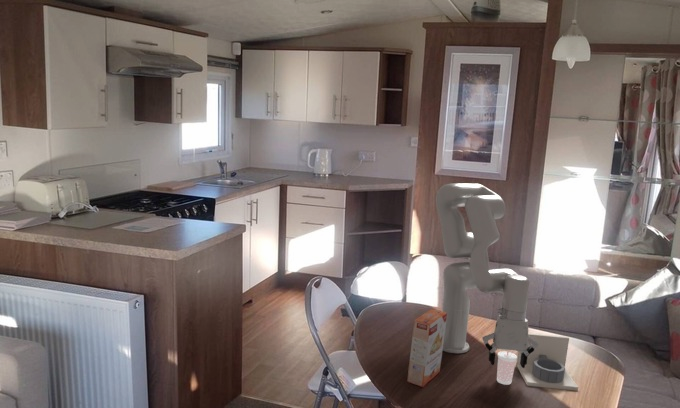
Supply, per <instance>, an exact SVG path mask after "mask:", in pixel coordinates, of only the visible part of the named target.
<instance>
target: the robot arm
mask: <svg viewBox="0 0 680 408" xmlns="http://www.w3.org/2000/svg"><path fill="white" fill-rule="evenodd" d="M435 207H436V211H437V215H438V217H439V220H440V226H441V228H440V229H441V237H442V241H443V242H442V243H443V251H444V254H445V256H446V257H447V258H449V259H451V260H452V259H453V260H455V259H457V260H458V259H462V260H463V259H468V261H460V262H459V261H458V262H453V263H450V264H448V265H446V266H445V268H444V270H443V271H442V272H443V273H442V279H443V299H442V309H441V311H442V312H445V313H447V319H446V327H445V335H444V342H443V350H442V352H446V353H450V354H464V353H467V352H468V351H470V345H469V343H468V342H467V341H466V340H467V335H468V334H467V332H468V323H469V317H470V316H469V315H470V308H471V307H470V306H471V301H470V297H469V294H468V292H467V290H471V289H477V290H479V291H480V292H481V293H483V294H491V293H502V301H501V302H502V303H501V307H500V308H496V313H497V314H498V316H497V320H496V323H495V327H494V331H493V332H492V333H489V334H486V335H484V336H482V340H483V344H484V346H485V347H486V349H487V350H488V351H489V353H488V361H489V362H490V365H492V366H494V365H495V359H496V351H497V350H501V351H507V350H509V351H512V352H518V351H523V352H522V353H521V360H520V365H521V366H522V367H523V368H525V364H527V357H528V356H529V354H530V353H532V352H533V351H534V349H535V348H536V347H537V345H538V343H537V342H536V341H535V340H533V339H531V338H530V337H528V333H529V320H528V319H527V318H526V317H527V309H528V308H527V307H528V306H527V305H528V300H529V292H530V291H529V290H530V284H531V283H530V282H531V281H530V280H529V279H530V278H528V277H526V276H525V275H521V274H518V273H517V272H516V271H515V270H513V269H511V268H508V267H504V268H503V267H502V268H491V266H490V259H489V254H488V248H489V247H490V246H491V245H493V244H495V243H496V242H498V241H499V239H501V234H500V232H499V228H498V226H497V222H496V220H499V219H501V218H503V217H504V216H505V214H506V211H507V208H506V203H505V202H504V199H503V198H502V197H501V196H500V195H499V194H497V193H496V192H494V191H493V190H491V189H489V188H488V187H486V186H484V185H483V184H480V183H473V182H472V183H470V182H469V183H468V182H467V183H465V182H464V183H463V182H460V183H459V182H455V183H454V182H452V183H447V184H443V185H442V186H440V188H439V189H437V192H436V196H435ZM458 207H459V208H461V207H462V208H463V207H464V209H465V213H466V217H467V220H468V223H469V227H470V230H471V231H467V230H466V223H465V219H464V217H463V215H462V213H461V212H460V211H459V210H458ZM491 340H492V342H493V343H492V344H490V343H489V341H491ZM528 342H529V343H531V346H530V347H528V348H527V346H528Z"/></svg>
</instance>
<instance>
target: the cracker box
mask: <svg viewBox="0 0 680 408" xmlns="http://www.w3.org/2000/svg"><path fill="white" fill-rule="evenodd" d="M446 319H447V313H445V312H442V310H438V309H434V308H431V309H429V310H427V311H426V312H425V313H423V314H421V315H420V316H419V317H417V318H415V319H414V320H413V328H412V336H411V346H410V354H409V355H410V356H409V362H408V363H409V364H408V373H407V380H406V382H407V383H409V384H413V385H415V386H418V387H420V388H424V387H425V386H426V385H427V384H428V383H429V382H431V380H433V379H434V378H435V377H436V376H437V375H439V373H440V372H441V364H442V357H443V351H442V350H443V342H444V335H445V327H446Z"/></svg>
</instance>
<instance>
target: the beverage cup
mask: <svg viewBox="0 0 680 408" xmlns="http://www.w3.org/2000/svg"><path fill="white" fill-rule="evenodd" d="M517 355H518V354H517ZM517 355H516V354H515V353H514V352H510V350H501V351H498V352H497V371H496V381H497V383H499V384H502V385H504V386H506V385H507V386H508V385H511V384H512V381H513V377H514V372H515V367H516V363H517Z"/></svg>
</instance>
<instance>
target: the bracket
mask: <svg viewBox="0 0 680 408" xmlns="http://www.w3.org/2000/svg"><path fill="white" fill-rule="evenodd" d="M528 337H530V338H531V339H533V340H535V341H536V342H537V343H538V345H537V347H536V348H535V349H534V351H533V352H532V353H530V354H529V356H528V357H527V364H525V368H523V367H522V366H521V365H520V360H521V353H522V352H523V351H517V360H516V363H515V367H517V369H518V371H519V373H520V375H521V377H522V378H523V380H524V383H525V384H526V386H528V387H537V388H538V387H539V388H547V389H558V390H565V391H567V390H568V391H576V392H577V391H579V386H578V384H577V383H576V382H575V380H574V379H573V378H572V376H571V375H570V373H569V372H568V370H567V369H566V362H567V355H568V350H569V349H568V348H569V343H570V338H569V336H563V335H553V334H543V333H533V332H532V333H531V332H528ZM530 346H531V343H529V342H528V346H527V348H528V347H530Z"/></svg>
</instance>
